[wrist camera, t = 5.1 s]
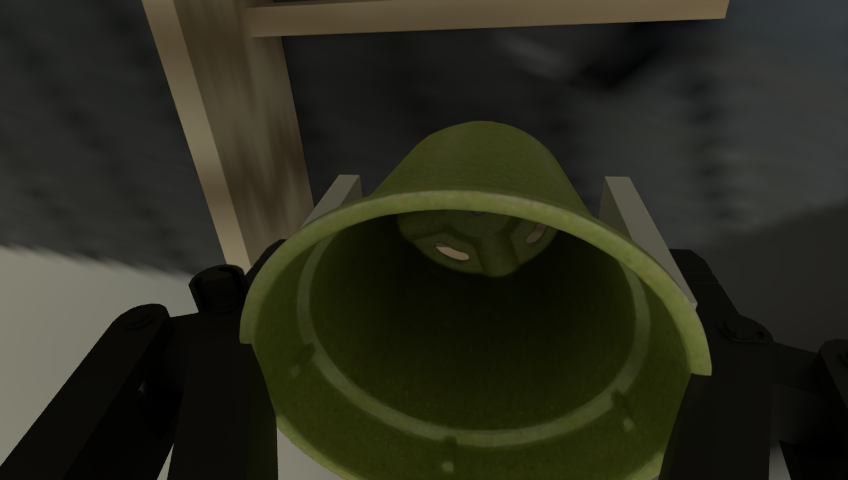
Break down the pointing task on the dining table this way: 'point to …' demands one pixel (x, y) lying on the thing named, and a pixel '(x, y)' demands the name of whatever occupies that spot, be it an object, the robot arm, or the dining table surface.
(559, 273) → the plant pot
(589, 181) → the dining table surface
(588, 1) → the notch rack
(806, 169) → the dining table surface
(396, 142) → the dining table surface
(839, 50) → the dining table surface
